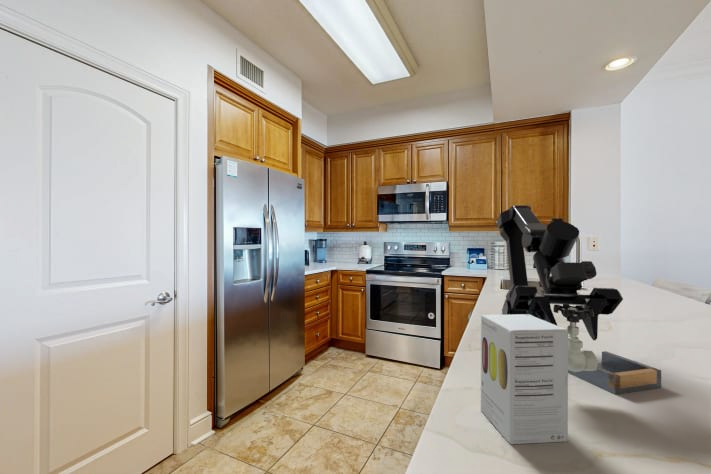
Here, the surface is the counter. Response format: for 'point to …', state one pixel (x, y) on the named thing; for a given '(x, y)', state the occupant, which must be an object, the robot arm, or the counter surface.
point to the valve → (577, 339)
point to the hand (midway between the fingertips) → (576, 338)
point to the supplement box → (525, 378)
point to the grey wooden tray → (621, 375)
